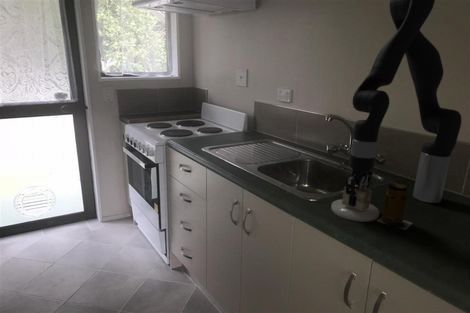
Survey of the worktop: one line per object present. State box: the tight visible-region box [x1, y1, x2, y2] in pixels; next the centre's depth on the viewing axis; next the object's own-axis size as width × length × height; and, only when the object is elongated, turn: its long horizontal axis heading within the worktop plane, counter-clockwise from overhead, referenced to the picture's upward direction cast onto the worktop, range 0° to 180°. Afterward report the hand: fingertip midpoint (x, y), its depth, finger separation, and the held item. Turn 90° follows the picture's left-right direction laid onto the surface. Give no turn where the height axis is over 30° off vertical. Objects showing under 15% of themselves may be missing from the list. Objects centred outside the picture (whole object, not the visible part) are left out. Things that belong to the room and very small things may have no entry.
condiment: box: [376, 182, 413, 231], centre depth 105 cm, size 7×8×12 cm
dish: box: [330, 198, 380, 223], centre depth 114 cm, size 15×15×1 cm
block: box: [342, 185, 373, 211], centre depth 112 cm, size 5×7×6 cm
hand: (355, 203), depth 113 cm, fingers closed on block, 4 cm apart
